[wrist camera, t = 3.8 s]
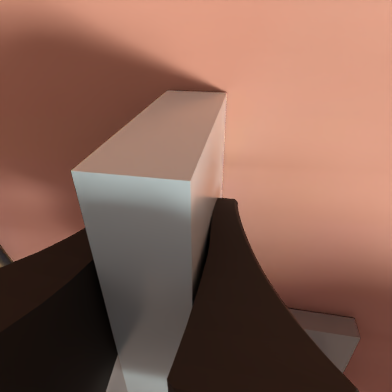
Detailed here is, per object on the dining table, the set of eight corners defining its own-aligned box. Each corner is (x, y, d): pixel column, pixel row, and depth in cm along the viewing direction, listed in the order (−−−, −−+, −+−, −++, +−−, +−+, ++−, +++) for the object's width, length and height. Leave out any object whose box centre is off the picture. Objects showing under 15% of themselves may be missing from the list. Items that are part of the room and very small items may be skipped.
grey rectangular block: (227, 92, 9) (190, 180, 4) (217, 269, 14) (194, 416, 9) (167, 90, 10) (70, 170, 5) (176, 263, 14) (130, 403, 9)
